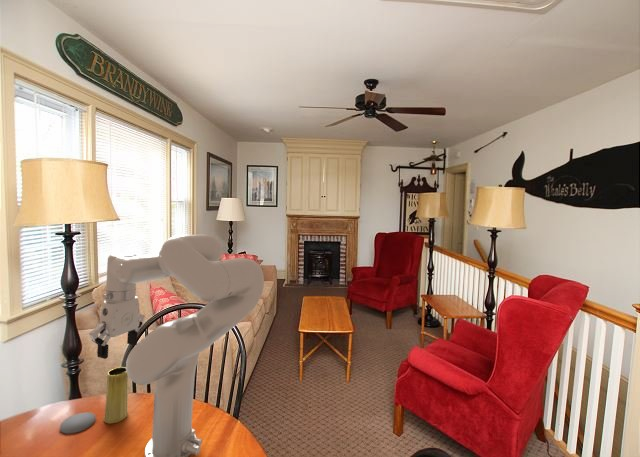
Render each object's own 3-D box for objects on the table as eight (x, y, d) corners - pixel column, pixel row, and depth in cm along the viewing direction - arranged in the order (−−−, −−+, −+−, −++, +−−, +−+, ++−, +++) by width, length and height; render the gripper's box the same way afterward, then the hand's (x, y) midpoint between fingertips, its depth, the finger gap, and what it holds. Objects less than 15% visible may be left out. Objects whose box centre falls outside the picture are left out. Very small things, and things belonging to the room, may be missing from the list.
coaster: (101, 418, 91) (102, 416, 91) (73, 436, 84) (74, 433, 84) (82, 412, 94) (82, 409, 94) (52, 429, 86) (53, 426, 86)
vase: (132, 412, 95) (134, 367, 95) (117, 425, 89) (119, 377, 89) (114, 409, 96) (116, 365, 95) (98, 422, 90) (100, 375, 89)
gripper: (102, 304, 82) (99, 366, 83) (154, 290, 98) (151, 342, 99) (82, 299, 84) (79, 360, 85) (135, 286, 100) (132, 337, 101)
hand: (118, 350), depth 92 cm, fingers open, 9 cm apart
